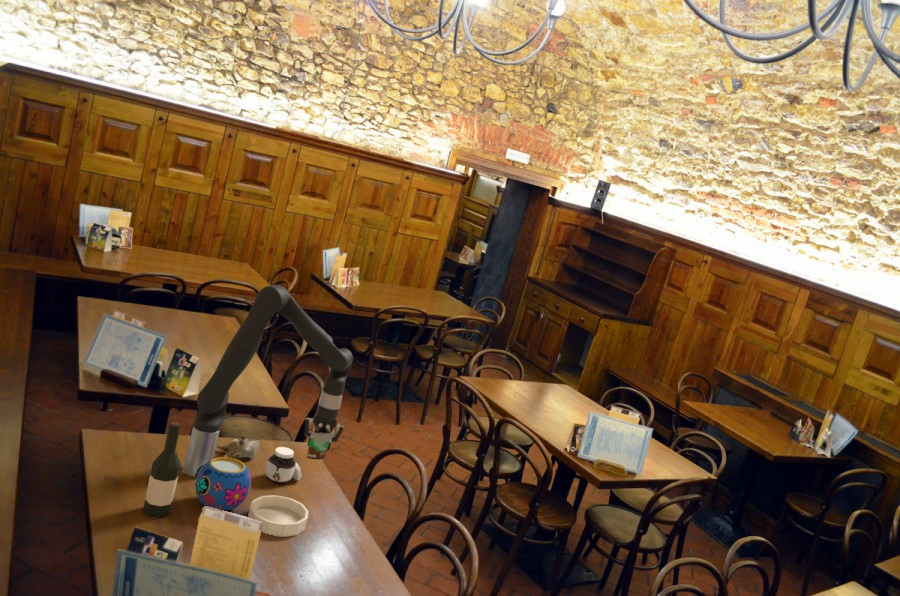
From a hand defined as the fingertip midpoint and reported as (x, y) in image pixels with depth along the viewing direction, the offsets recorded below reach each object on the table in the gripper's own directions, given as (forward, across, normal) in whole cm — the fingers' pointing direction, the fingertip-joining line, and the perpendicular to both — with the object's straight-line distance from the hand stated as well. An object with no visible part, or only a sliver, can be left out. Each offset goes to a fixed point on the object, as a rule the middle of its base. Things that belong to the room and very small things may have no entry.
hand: (318, 449), depth 256 cm
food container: (+3, +1, 0) cm, 3 cm away
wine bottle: (+22, -45, -24) cm, 55 cm away
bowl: (+21, -8, -16) cm, 28 cm away
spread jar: (+21, -10, +16) cm, 28 cm away
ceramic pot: (+21, -28, -13) cm, 37 cm away
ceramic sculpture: (+22, -29, +27) cm, 45 cm away
